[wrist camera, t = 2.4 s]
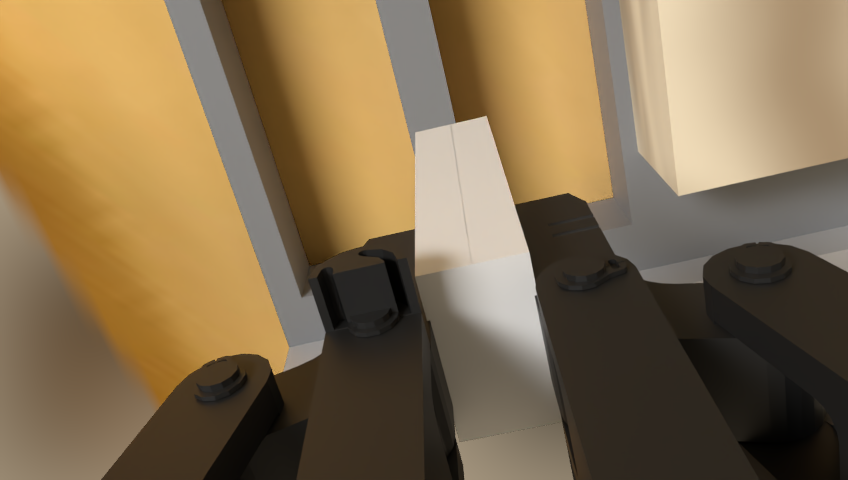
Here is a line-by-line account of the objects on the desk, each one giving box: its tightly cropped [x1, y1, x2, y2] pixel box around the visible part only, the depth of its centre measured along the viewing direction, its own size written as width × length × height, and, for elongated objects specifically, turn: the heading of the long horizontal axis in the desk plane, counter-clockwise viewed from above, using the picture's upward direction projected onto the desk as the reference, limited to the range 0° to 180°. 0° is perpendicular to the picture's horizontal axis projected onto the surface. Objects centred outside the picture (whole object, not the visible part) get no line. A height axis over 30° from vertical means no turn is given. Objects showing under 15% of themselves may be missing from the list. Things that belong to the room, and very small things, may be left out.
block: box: [619, 0, 848, 196], centre depth 22 cm, size 7×7×4 cm
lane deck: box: [164, 0, 848, 371], centre depth 23 cm, size 32×18×6 cm, turn 103°
